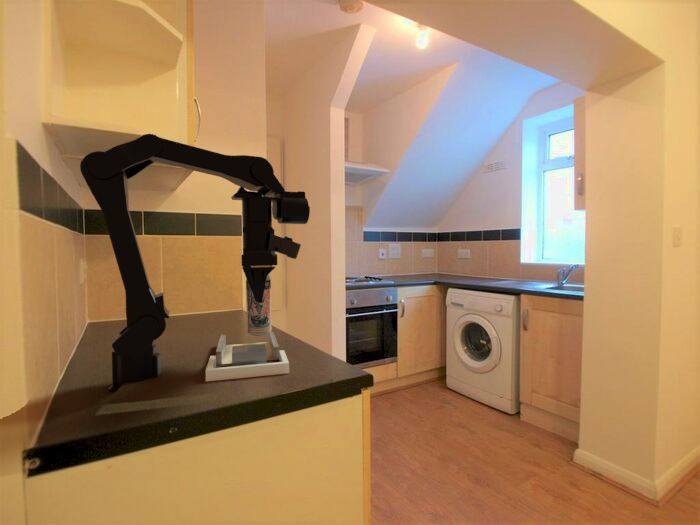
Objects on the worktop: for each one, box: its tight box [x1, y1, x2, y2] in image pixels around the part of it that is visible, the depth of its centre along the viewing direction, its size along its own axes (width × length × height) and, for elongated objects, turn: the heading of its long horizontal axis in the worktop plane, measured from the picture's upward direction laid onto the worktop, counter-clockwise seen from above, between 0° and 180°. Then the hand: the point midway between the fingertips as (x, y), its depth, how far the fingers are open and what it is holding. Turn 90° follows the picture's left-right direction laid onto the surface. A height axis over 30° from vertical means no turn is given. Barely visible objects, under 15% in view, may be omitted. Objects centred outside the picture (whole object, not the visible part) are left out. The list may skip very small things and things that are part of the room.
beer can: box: [245, 274, 272, 337], centre depth 72 cm, size 5×5×12 cm
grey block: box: [231, 344, 268, 366], centre depth 66 cm, size 6×5×4 cm
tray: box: [205, 349, 290, 382], centre depth 66 cm, size 14×9×3 cm, turn 106°
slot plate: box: [215, 331, 280, 366], centre depth 78 cm, size 12×15×4 cm
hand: (258, 300), depth 72 cm, fingers closed on beer can, 5 cm apart
